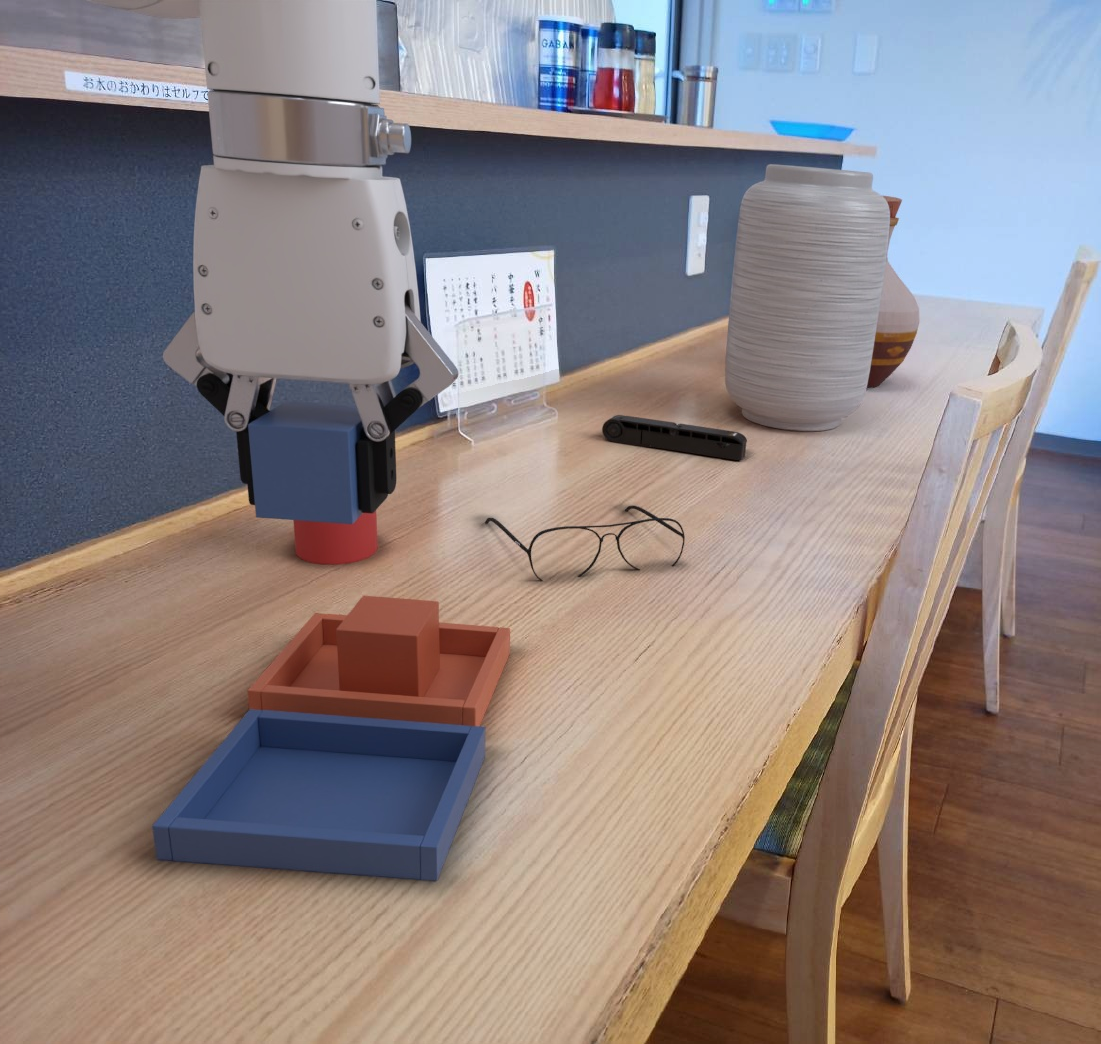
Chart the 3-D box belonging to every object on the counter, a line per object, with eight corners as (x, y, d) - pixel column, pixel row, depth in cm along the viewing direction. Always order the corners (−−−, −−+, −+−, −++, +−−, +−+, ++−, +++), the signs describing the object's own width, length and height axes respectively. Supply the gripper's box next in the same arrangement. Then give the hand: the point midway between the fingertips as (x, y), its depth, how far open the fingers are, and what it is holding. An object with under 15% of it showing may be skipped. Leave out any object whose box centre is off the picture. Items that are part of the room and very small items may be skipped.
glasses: (527, 590, 81) (526, 531, 80) (483, 543, 94) (481, 491, 92) (686, 571, 87) (688, 516, 86) (624, 529, 100) (624, 481, 99)
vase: (691, 412, 139) (711, 159, 128) (775, 394, 154) (800, 166, 142) (809, 446, 128) (843, 171, 116) (889, 423, 142) (926, 177, 130)
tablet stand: (601, 440, 123) (602, 417, 122) (608, 435, 125) (609, 412, 124) (740, 462, 119) (743, 438, 118) (746, 456, 121) (748, 433, 120)
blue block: (255, 517, 51) (247, 424, 49) (292, 487, 56) (286, 400, 54) (352, 524, 51) (348, 431, 50) (381, 493, 56) (378, 407, 54)
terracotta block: (339, 700, 62) (335, 629, 60) (366, 662, 67) (362, 595, 65) (419, 706, 62) (417, 635, 60) (440, 667, 67) (439, 600, 65)
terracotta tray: (250, 727, 60) (246, 690, 59) (317, 645, 70) (314, 612, 69) (475, 745, 60) (475, 707, 59) (510, 660, 70) (510, 627, 69)
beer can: (278, 560, 82) (267, 420, 78) (333, 535, 88) (325, 404, 84) (341, 577, 80) (334, 434, 76) (394, 551, 86) (389, 417, 82)
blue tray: (157, 869, 48) (150, 825, 47) (253, 746, 58) (249, 708, 57) (437, 891, 48) (436, 847, 47) (485, 764, 58) (485, 726, 57)
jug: (802, 364, 178) (823, 189, 167) (902, 374, 177) (929, 198, 166) (802, 388, 160) (825, 193, 149) (914, 399, 158) (945, 203, 148)
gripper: (493, 155, 51) (492, 490, 57) (158, 128, 50) (195, 468, 57) (460, 155, 44) (463, 537, 50) (70, 125, 43) (123, 513, 50)
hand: (320, 497), depth 53 cm, fingers closed on blue block, 5 cm apart
